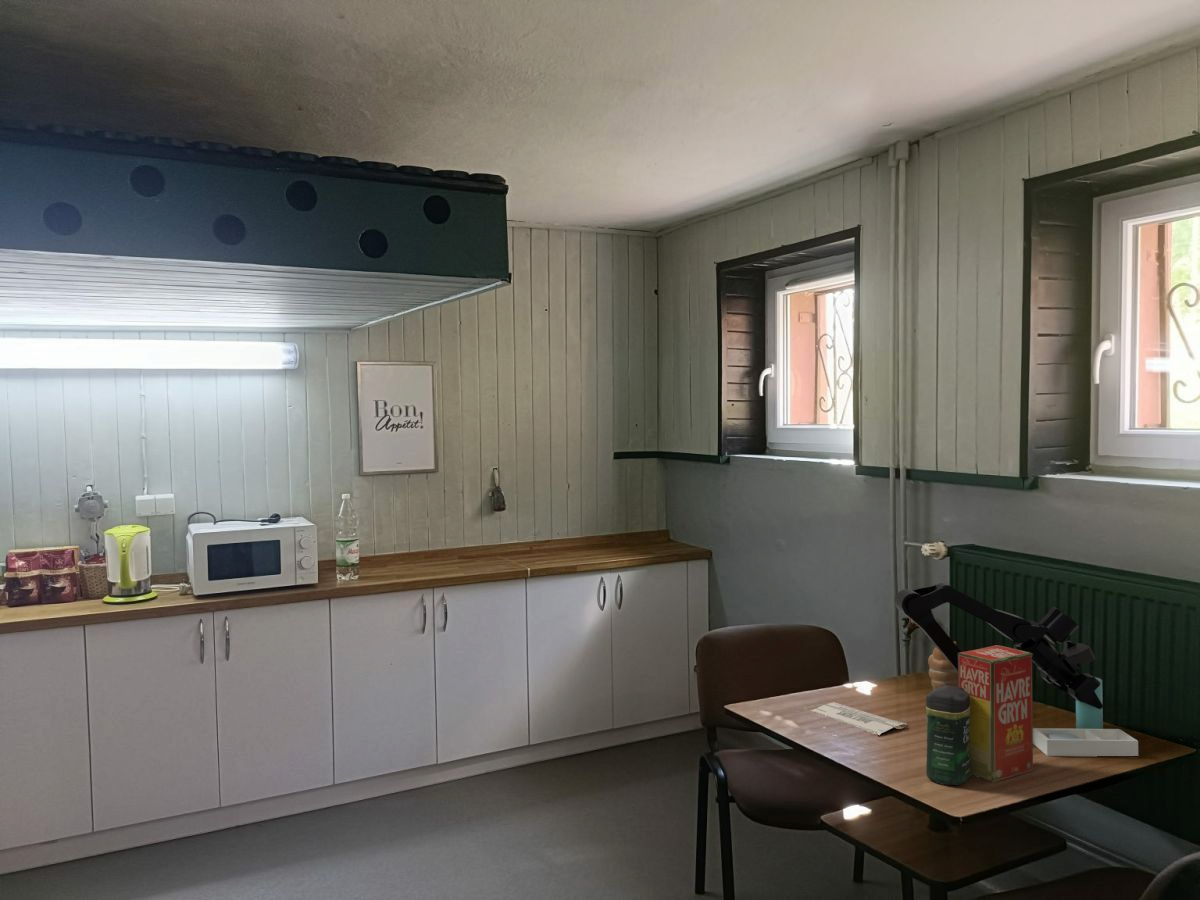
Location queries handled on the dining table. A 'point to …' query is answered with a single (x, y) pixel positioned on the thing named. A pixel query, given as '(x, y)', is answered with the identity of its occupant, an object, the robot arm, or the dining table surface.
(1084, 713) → the teal rounded block
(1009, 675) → the food packaging
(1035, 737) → the rack
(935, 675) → the cat ice cream
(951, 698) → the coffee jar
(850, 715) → the newspaper
